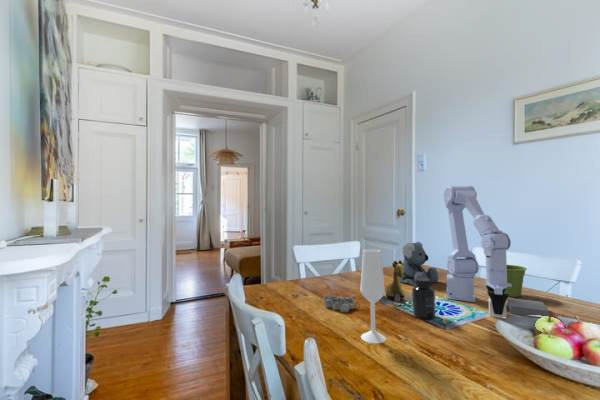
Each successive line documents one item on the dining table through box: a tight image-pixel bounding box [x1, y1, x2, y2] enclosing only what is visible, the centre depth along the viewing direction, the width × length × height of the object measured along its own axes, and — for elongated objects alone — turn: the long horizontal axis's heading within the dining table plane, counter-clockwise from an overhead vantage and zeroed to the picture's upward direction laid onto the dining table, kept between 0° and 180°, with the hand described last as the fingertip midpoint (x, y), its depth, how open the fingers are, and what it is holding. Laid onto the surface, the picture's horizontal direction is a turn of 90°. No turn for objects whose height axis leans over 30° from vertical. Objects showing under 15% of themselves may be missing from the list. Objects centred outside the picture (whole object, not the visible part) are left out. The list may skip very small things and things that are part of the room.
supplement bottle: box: [411, 278, 436, 320], centre depth 97 cm, size 7×7×12 cm
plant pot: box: [504, 264, 528, 298], centre depth 119 cm, size 12×12×11 cm
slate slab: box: [506, 297, 550, 317], centre depth 100 cm, size 10×10×3 cm
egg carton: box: [322, 294, 356, 313], centre depth 106 cm, size 11×8×4 cm
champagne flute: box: [359, 248, 387, 344], centre depth 81 cm, size 7×7×24 cm
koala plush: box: [399, 241, 439, 287], centre depth 141 cm, size 17×18×20 cm
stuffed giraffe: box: [378, 260, 413, 307], centre depth 116 cm, size 16×18×16 cm
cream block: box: [488, 297, 507, 319], centre depth 96 cm, size 4×4×5 cm
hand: (497, 310), depth 96 cm, fingers open, 6 cm apart
